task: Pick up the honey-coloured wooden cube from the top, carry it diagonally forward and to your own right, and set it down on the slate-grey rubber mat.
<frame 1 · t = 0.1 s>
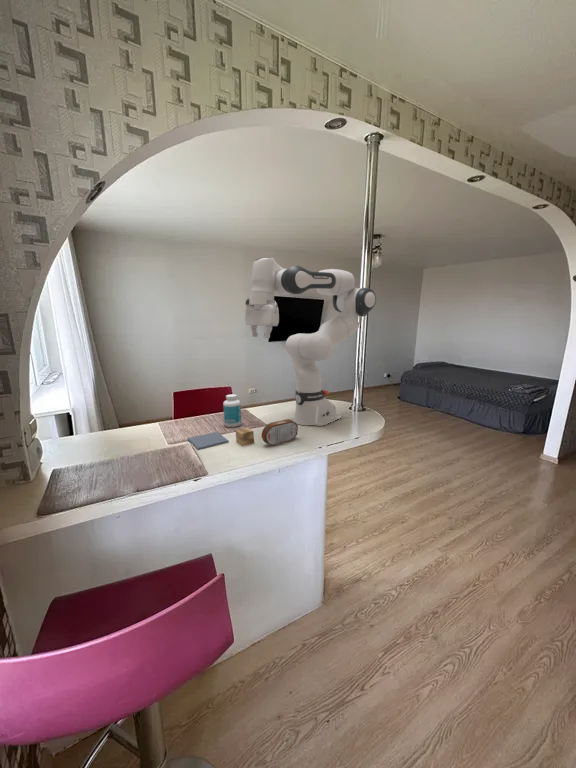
hand: (260, 337, 129), 39 cm above the table, tool pointing down, fingers open, 8 cm apart
cube: (245, 442, 125), on the table
mat: (208, 441, 128), on the table
tin: (280, 443, 125), on the table
pill bottle: (233, 425, 146), on the table
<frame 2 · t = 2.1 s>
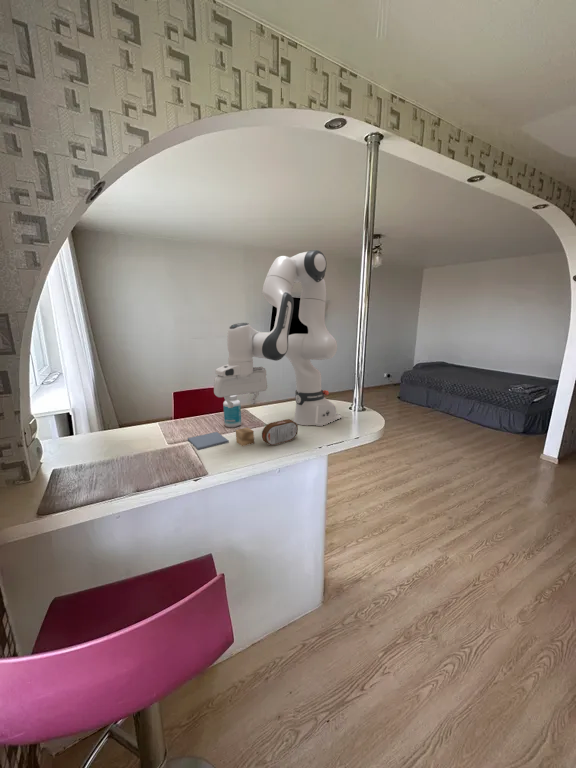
hand: (242, 405, 122), 15 cm above the table, tool pointing down, fingers open, 8 cm apart
nothing on the table moved.
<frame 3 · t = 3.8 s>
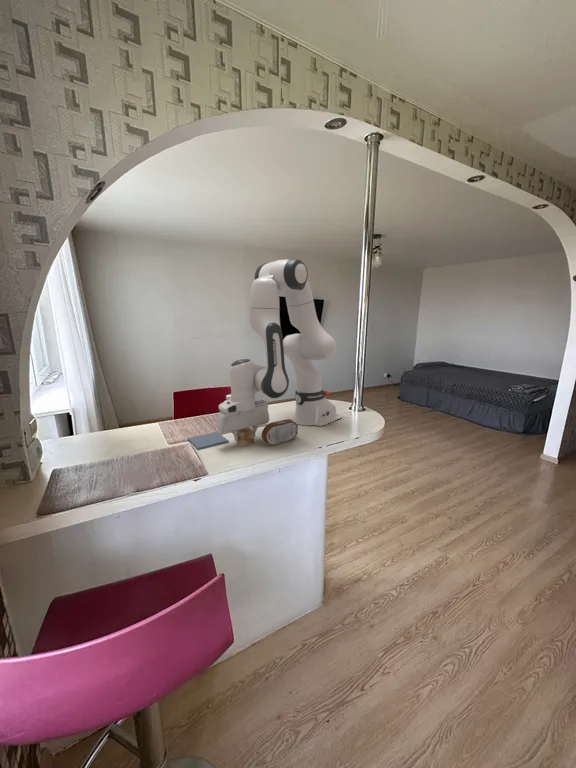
hand: (245, 438, 125), 2 cm above the table, tool pointing down, fingers closed on cube, 5 cm apart
cube: (245, 442, 125), on the table, touching gripper
everything else where it was.
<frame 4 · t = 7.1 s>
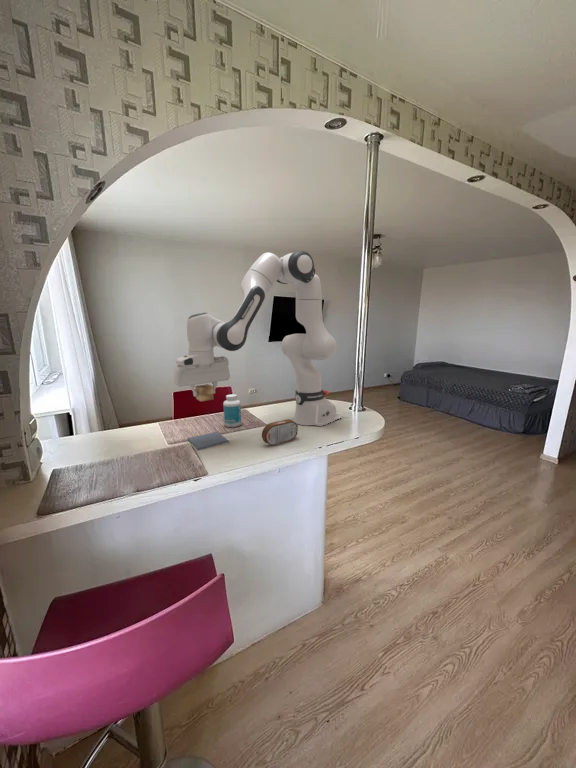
hand: (204, 394, 124), 19 cm above the table, tool pointing down, fingers closed on cube, 5 cm apart
cube: (204, 399, 124), point 17 cm above the table, touching gripper
everything else where it was.
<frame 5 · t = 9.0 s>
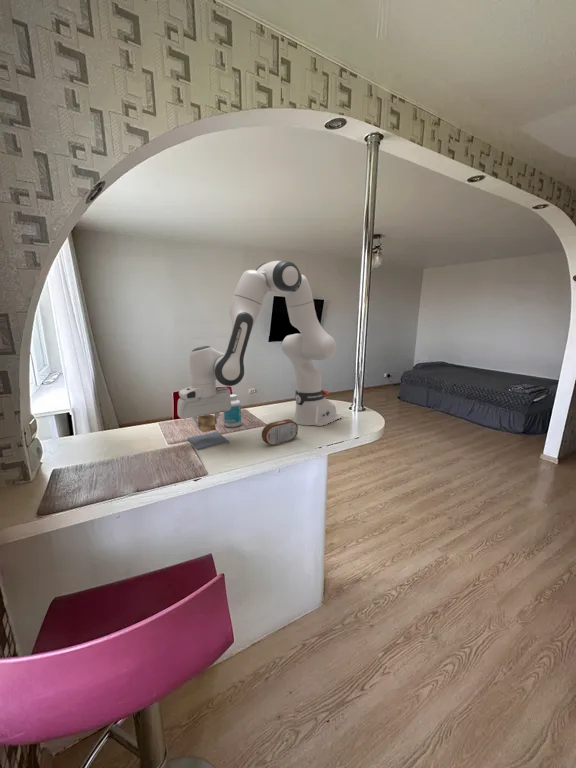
hand: (206, 425, 126), 7 cm above the table, tool pointing down, fingers closed on cube, 5 cm apart
cube: (206, 429, 126), point 5 cm above the table, touching gripper
everything else where it was.
when the fingers open (4 cm above the table, at t = 10.5 s): cube drops 1 cm, resting on mat.
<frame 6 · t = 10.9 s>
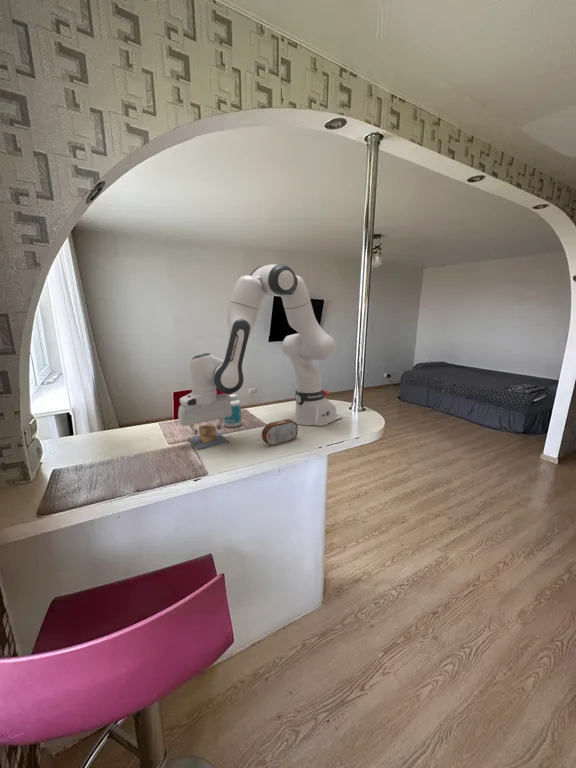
hand: (207, 431, 127), 4 cm above the table, tool pointing down, fingers open, 8 cm apart
cube: (208, 439, 128), point 1 cm above the table, touching mat
everything else where it was.
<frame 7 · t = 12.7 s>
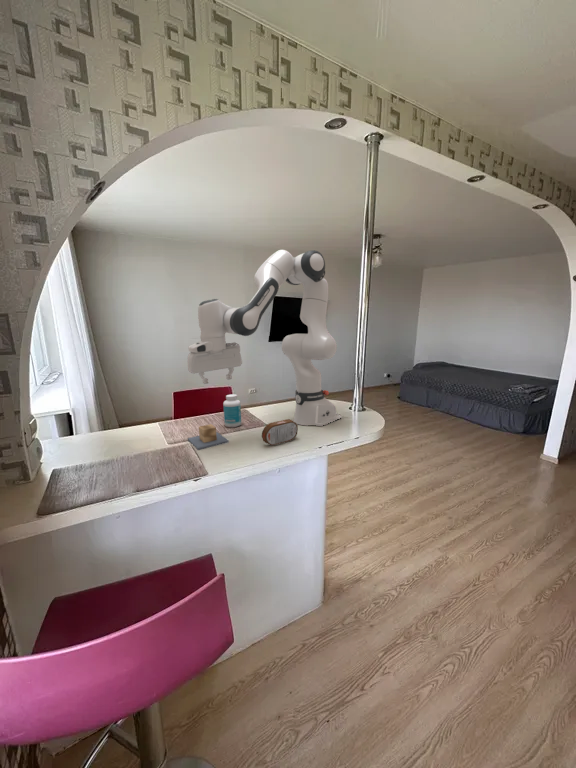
hand: (217, 381, 125), 23 cm above the table, tool pointing down, fingers open, 8 cm apart
nothing on the table moved.
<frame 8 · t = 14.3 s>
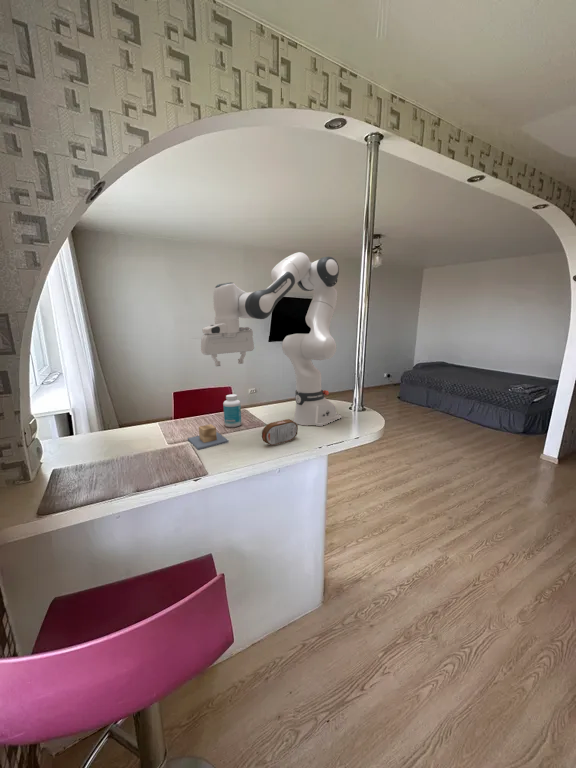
hand: (229, 364, 125), 29 cm above the table, tool pointing down, fingers open, 8 cm apart
nothing on the table moved.
at the end: cube inside the target area on the mat (0.1 cm from its centre), point 0.8 cm above the mat's base; cube tilted 0°; the gripper is holding nothing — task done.
